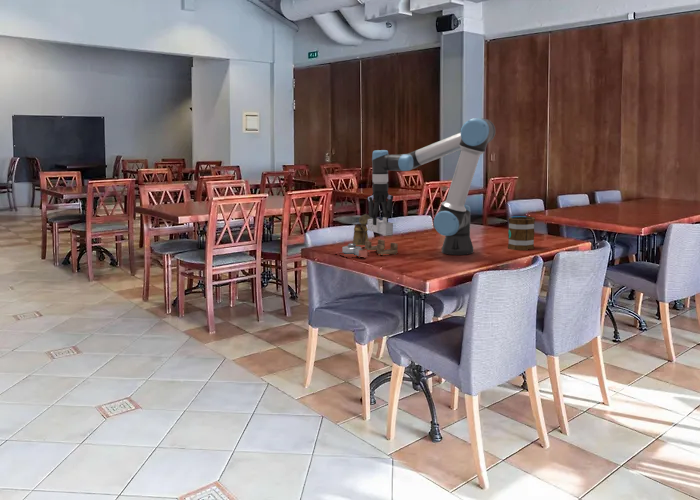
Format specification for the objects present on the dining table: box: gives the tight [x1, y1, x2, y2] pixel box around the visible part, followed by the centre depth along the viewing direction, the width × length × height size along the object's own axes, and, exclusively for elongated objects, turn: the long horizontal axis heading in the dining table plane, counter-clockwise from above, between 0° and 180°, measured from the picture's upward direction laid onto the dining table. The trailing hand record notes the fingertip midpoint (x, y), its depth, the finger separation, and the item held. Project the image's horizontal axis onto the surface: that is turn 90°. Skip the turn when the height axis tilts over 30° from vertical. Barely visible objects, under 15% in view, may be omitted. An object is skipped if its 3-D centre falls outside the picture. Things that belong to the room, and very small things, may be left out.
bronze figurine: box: [352, 213, 371, 245], centre depth 331 cm, size 9×14×18 cm, turn 17°
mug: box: [507, 215, 536, 251], centre depth 323 cm, size 20×14×15 cm
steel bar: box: [367, 218, 394, 236], centre depth 315 cm, size 17×4×6 cm, turn 29°
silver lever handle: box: [341, 242, 368, 258], centre depth 307 cm, size 17×9×5 cm, turn 28°
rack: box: [364, 239, 399, 255], centre depth 316 cm, size 16×9×5 cm, turn 28°
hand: (380, 231), depth 314 cm, fingers closed on steel bar, 4 cm apart
